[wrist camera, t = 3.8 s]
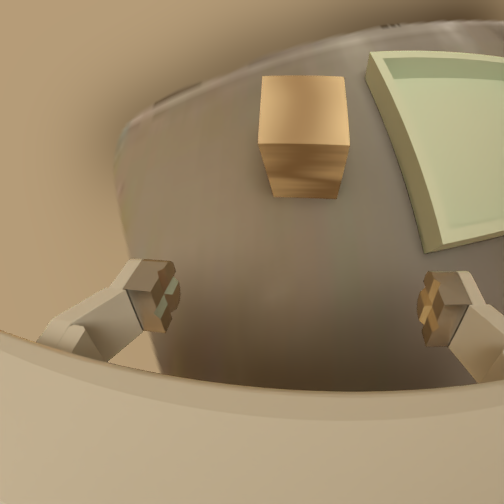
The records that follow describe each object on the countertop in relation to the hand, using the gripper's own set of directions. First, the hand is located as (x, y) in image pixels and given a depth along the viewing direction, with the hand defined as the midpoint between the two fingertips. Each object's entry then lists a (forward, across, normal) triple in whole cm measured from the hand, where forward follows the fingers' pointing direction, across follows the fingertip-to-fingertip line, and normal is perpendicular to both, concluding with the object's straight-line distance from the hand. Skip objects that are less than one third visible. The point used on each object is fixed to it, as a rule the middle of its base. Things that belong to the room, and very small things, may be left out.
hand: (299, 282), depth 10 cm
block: (+15, 0, +2) cm, 15 cm away
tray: (+17, -16, -1) cm, 23 cm away
